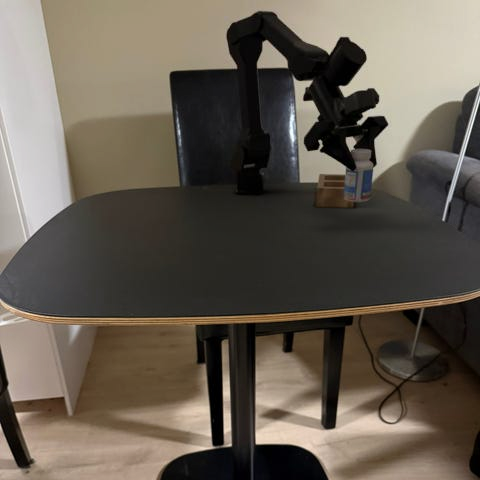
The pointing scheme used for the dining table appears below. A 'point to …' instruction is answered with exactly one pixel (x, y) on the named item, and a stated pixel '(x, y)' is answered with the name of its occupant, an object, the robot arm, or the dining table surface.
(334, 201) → the holder
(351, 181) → the pill bottle
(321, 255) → the dining table surface
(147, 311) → the dining table surface
